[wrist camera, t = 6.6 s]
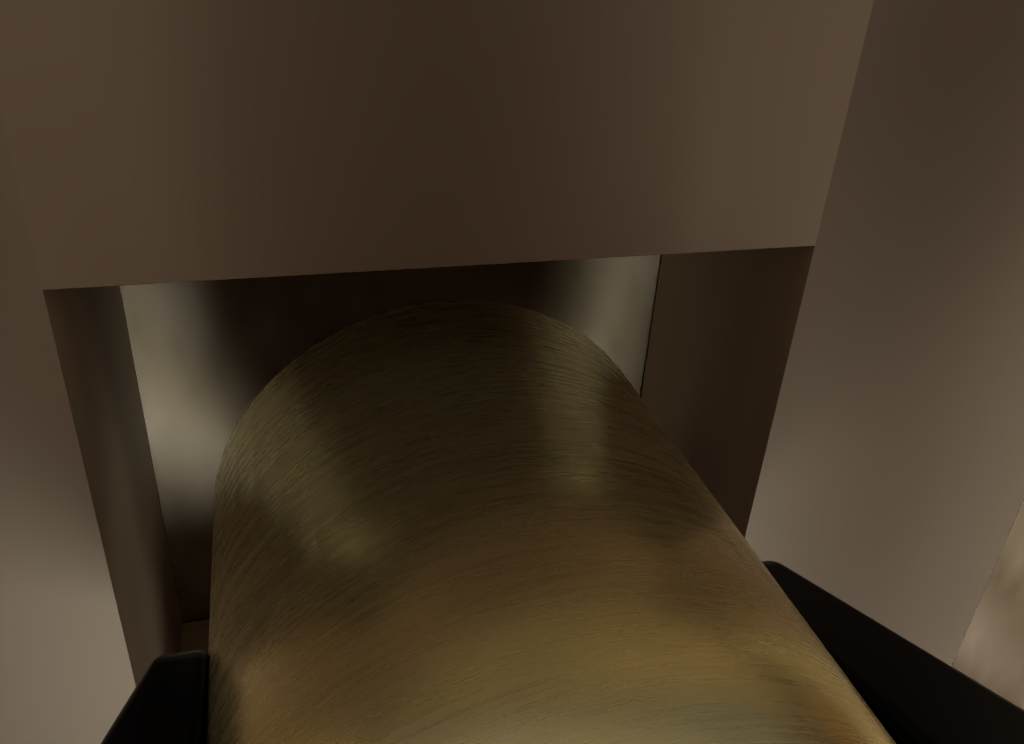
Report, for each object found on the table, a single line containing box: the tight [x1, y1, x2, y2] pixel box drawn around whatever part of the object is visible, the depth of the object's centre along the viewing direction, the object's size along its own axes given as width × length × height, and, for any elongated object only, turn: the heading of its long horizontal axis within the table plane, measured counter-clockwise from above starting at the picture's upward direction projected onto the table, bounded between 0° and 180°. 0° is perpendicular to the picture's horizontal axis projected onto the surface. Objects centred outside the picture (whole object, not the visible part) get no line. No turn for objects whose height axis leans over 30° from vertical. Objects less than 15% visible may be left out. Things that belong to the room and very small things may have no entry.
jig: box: [0, 0, 1024, 744], centre depth 10 cm, size 14×14×5 cm
